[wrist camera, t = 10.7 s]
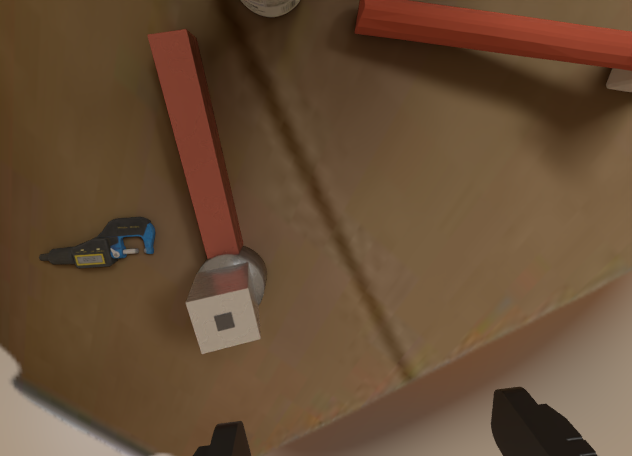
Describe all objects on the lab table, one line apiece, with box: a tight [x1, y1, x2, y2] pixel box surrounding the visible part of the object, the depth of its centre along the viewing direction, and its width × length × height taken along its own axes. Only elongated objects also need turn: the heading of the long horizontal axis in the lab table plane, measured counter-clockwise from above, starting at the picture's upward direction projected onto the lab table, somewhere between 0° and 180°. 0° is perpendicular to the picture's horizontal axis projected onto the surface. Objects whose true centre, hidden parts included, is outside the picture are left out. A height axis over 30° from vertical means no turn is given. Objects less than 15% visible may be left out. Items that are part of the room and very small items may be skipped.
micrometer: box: [39, 217, 155, 268], centre depth 33 cm, size 12×2×5 cm
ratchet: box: [148, 29, 267, 306], centre depth 30 cm, size 27×7×6 cm, turn 8°
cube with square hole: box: [186, 262, 261, 354], centre depth 29 cm, size 5×5×6 cm
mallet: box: [355, 0, 632, 92], centre depth 27 cm, size 11×4×30 cm
